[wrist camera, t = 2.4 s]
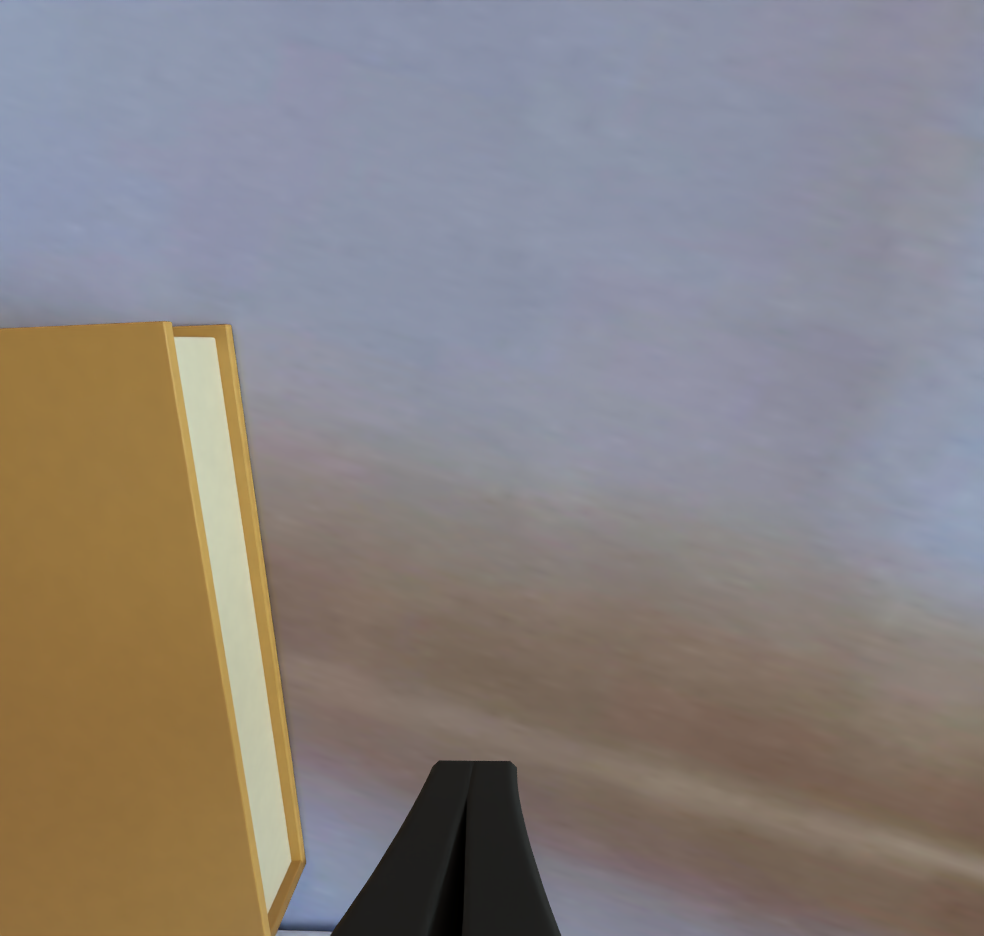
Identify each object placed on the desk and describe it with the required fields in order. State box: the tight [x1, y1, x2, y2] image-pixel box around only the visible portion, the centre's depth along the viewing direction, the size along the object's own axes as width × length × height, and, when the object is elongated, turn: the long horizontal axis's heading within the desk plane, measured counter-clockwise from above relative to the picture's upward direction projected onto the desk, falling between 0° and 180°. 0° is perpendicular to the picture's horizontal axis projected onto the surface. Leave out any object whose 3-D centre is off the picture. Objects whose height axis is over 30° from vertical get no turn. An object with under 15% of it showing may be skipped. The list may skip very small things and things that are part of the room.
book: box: [0, 321, 306, 936], centre depth 15 cm, size 17×12×3 cm
